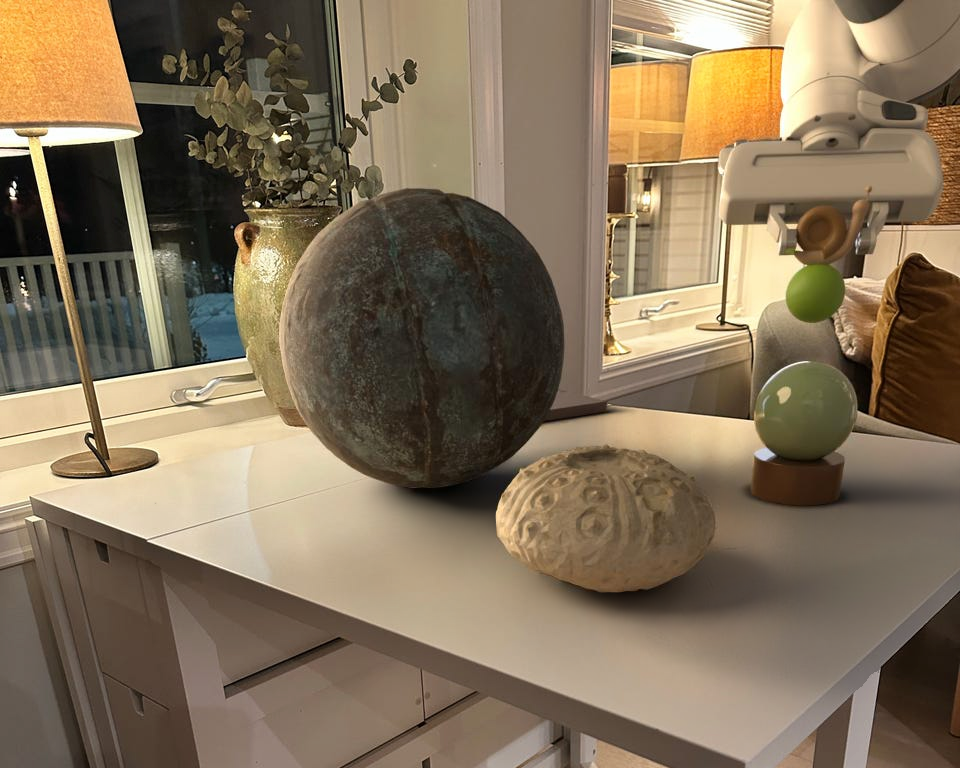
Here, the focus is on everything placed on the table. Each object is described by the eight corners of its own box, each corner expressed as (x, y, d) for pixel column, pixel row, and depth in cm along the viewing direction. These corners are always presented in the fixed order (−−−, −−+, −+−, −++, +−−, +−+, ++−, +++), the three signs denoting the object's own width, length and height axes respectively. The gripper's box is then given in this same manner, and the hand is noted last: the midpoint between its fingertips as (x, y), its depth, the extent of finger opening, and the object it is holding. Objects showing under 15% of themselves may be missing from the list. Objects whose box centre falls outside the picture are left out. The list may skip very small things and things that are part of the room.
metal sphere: (508, 442, 121) (505, 188, 108) (607, 504, 95) (620, 180, 82) (279, 465, 112) (248, 193, 99) (321, 540, 86) (285, 186, 74)
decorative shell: (750, 570, 77) (764, 452, 73) (629, 639, 66) (636, 504, 61) (582, 527, 88) (584, 423, 84) (452, 579, 77) (447, 462, 72)
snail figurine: (854, 326, 87) (876, 185, 81) (783, 325, 88) (800, 186, 83) (848, 320, 91) (868, 186, 86) (781, 319, 93) (797, 187, 88)
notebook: (485, 430, 127) (606, 411, 137) (484, 419, 126) (607, 400, 136) (441, 415, 137) (557, 398, 146) (440, 404, 136) (557, 388, 146)
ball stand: (783, 475, 103) (799, 351, 98) (863, 494, 96) (885, 361, 90) (726, 491, 98) (738, 361, 92) (806, 513, 91) (825, 373, 85)
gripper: (721, 115, 90) (717, 227, 85) (945, 106, 86) (952, 223, 82) (715, 167, 96) (711, 274, 91) (925, 161, 92) (930, 273, 87)
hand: (827, 250), depth 86 cm, fingers closed on snail figurine, 6 cm apart
